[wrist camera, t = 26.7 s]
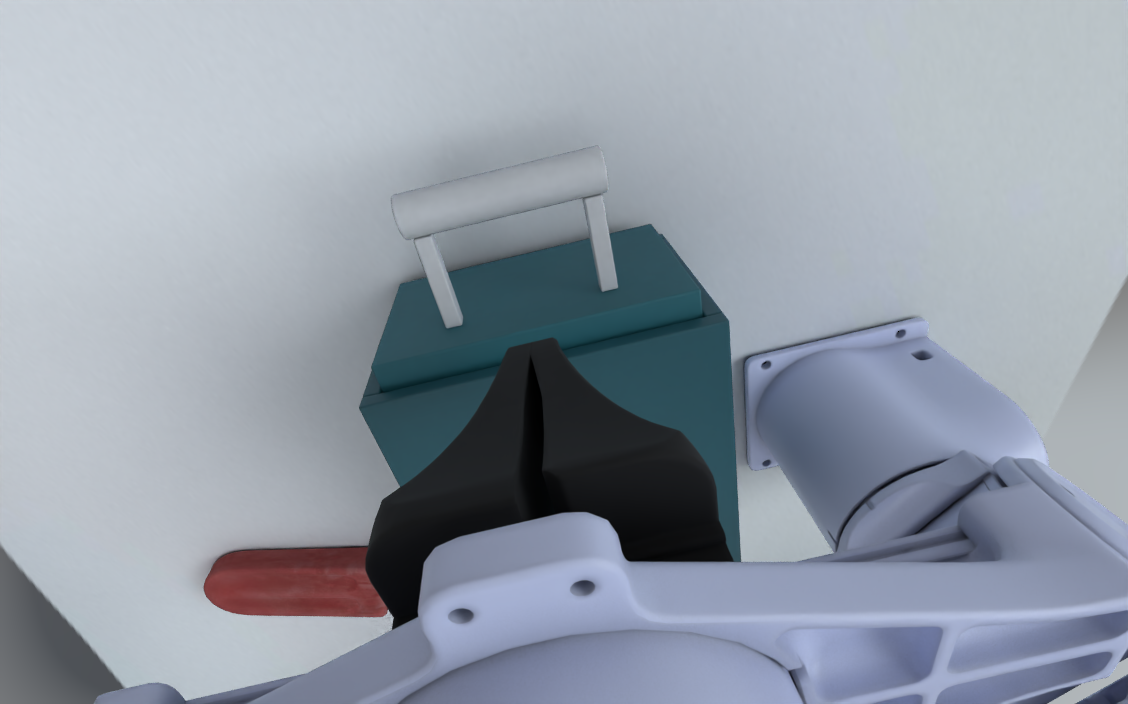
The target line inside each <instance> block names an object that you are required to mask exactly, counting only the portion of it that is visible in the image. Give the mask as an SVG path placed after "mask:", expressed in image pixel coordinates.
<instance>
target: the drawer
mask: <svg viewBox="0 0 1128 704" xmlns="http://www.w3.org/2000/svg"><path fill="white" fill-rule="evenodd" d="M608 189H609V182H608V174H607V169H606V164H605V160H604V156H603V153H602V150H601V148H600V146H593V147H589V148H585V149H581V150H577V151H572V152H568V153H564V154H560V155H556V156H552V157H548V158H543V159H539V160H535V161H531V162H527V163H523V164H519V165H514V166H510V167H506V168H502V169H498V170H494V171H490V172H486V173H481V174H477V175H473V176H469V177H465V178H461V179H457V180H452V181H448V182H444V183H440V184H436V185H432V186H428V187H424V188H419V189H415V190H411V191H407V192H403V193H399V194H395V195H393V196H392V199H391V204H392V211H393V215H394V218H395V222H396V224H397V227H398V229H399V231H400V233H401V235H402V236H403V237H404V238H405V239H406V240H409V239H414V244H415V247H416V250H417V252H418V255H419V258H420V260H421V263H422V266H423V268H424V271H425V274H426V276H427V278H422V279H418V280H414V281H410V282H406V283H402V284H400V286H399V289H398V291H397V294H396V297H395V300H394V303H393V306H392V309H391V312H390V315H389V317H388V320H387V323H386V326H385V329H384V332H383V335H382V338H381V340H380V343H379V346H378V349H377V352H376V355H375V358H374V361H373V363H372V366H371V369H372V371H373V373H374V375H375V377H376V379H377V381H378V383H379V385H380V387H381V389H382V391H383V393H385V392H389V391H393V390H398V389H402V388H406V387H410V386H415V385H419V384H423V383H427V382H432V381H436V380H440V379H444V378H448V377H453V376H457V375H461V374H465V373H470V372H474V371H478V370H482V369H487V368H491V367H495V366H499V365H501V363H502V360H503V358H504V356H505V353H506V351H507V350H508V348H509V347H513V346H518V345H522V344H526V343H530V342H535V341H539V340H543V339H547V338H551V337H553V338H555V339H556V340H557V341H558V344H559V346H560V348H561V350H562V351H563V350H567V349H571V348H576V347H580V346H584V345H588V344H593V343H597V342H601V341H605V340H610V339H614V338H618V337H622V336H627V335H631V334H635V333H639V332H643V331H648V330H652V329H656V328H660V327H665V326H669V325H673V324H677V323H682V322H686V321H690V320H694V319H699V318H703V314H702V301H701V290H700V289H699V287H698V286H697V285H696V283H695V282H694V281H693V279H692V278H691V277H690V275H689V274H688V273H687V271H686V270H685V269H684V267H683V266H682V265H681V263H680V262H679V261H678V259H677V258H676V257H675V255H674V254H673V253H672V251H671V250H670V249H669V247H668V246H667V245H666V243H665V242H664V241H663V239H662V238H661V237H660V236H659V234H658V233H657V232H656V230H655V229H654V228H653V226H652V225H651V224H648V225H644V226H640V227H636V228H632V229H627V230H623V231H619V232H615V233H611V234H609V230H608V224H607V218H606V212H605V206H604V200H603V196H602V194H601V193H605V192H607V191H608ZM580 198H582V199H583V204H584V210H585V215H586V220H587V225H588V231H589V236H590V239H586V240H581V241H577V242H573V243H569V244H565V245H560V246H556V247H552V248H548V249H544V250H540V251H535V252H531V253H527V254H523V255H519V256H514V257H510V258H506V259H502V260H498V261H494V262H489V263H485V264H481V265H477V266H473V267H468V268H464V269H460V270H456V271H452V272H448V273H447V270H446V267H445V264H444V261H443V258H442V256H441V253H440V250H439V247H438V244H437V241H436V238H435V236H434V233H439V232H443V231H447V230H451V229H455V228H459V227H464V226H468V225H472V224H476V223H480V222H484V221H489V220H493V219H497V218H501V217H505V216H509V215H513V214H518V213H522V212H526V211H530V210H534V209H538V208H543V207H547V206H551V205H555V204H559V203H563V202H568V201H572V200H576V199H580Z"/></svg>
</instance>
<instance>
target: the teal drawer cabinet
mask: <svg viewBox="0 0 1128 704" xmlns="http://www.w3.org/2000/svg"><path fill="white" fill-rule="evenodd" d="M659 236H660V237H661V238H662V239H663V241H664V242H665V243H666V245H667V246H668V247H669V249H670V250H671V251H672V253H673V254H674V255H675V257H676V258H677V259H678V261H679V262H680V263H681V265H682V266H683V267H684V269H685V270H686V271H687V273H688V274H689V275H690V277H691V278H692V279H693V281H694V282H695V283H696V285H697V286H698V287H699V289H700V290H701V301H702V314H703V318H699V319H694V320H690V321H686V322H682V323H677V324H673V325H669V326H665V327H660V328H656V329H652V330H648V331H643V332H639V333H635V334H631V335H627V336H622V337H618V338H614V339H610V340H605V341H601V342H597V343H593V344H588V345H584V346H580V347H576V348H571V349H567V350H563V353H564V354H565V356H566V357H567V359H568V360H569V361H570V362H571V364H572V365H573V366H574V367H575V368H576V369H577V370H578V372H579V373H580V374H581V375H582V376H583V377H584V378H585V379H586V380H587V381H588V382H589V383H590V384H591V385H592V386H594V387H595V388H596V389H597V390H598V391H599V392H601V393H602V394H603V395H604V396H606V397H607V398H609V399H610V400H611V401H613V402H614V403H616V404H617V405H619V406H620V407H622V408H623V409H625V410H627V411H629V412H631V413H633V414H635V415H637V416H638V417H641V418H643V419H646V420H648V421H650V422H653V423H656V424H659V425H662V426H666V427H669V428H673V429H676V430H679V431H681V432H682V433H683V434H684V435H685V436H686V437H687V438H688V440H689V441H690V442H691V443H692V444H693V446H694V447H695V448H696V450H697V451H698V452H699V453H700V455H701V456H702V458H703V459H704V461H705V462H706V464H707V465H708V467H709V469H710V471H711V473H712V475H713V477H714V480H715V484H716V488H717V500H718V513H719V521H720V523H721V526H722V528H723V530H724V532H725V536H726V544H727V547H728V549H729V551H730V554H731V556H732V558H733V560H734V562H741V552H740V532H739V511H738V491H737V471H736V450H735V430H734V410H733V389H732V369H731V349H730V328H729V320H728V319H727V318H726V316H725V315H724V314H723V313H722V311H721V310H720V308H719V307H718V306H717V305H716V303H715V302H714V301H713V299H712V298H711V297H710V296H709V294H708V293H707V292H706V290H705V289H704V288H703V286H702V285H701V284H700V283H699V281H698V280H697V279H696V277H695V276H694V275H693V273H692V272H691V271H690V270H689V268H688V267H687V266H686V264H685V263H684V262H683V260H682V259H681V258H680V257H679V255H678V254H677V253H676V251H675V250H674V249H673V247H672V246H671V245H670V244H669V242H668V241H667V240H666V238H665V237H664V236H663V234H659ZM499 368H500V365H499V366H495V367H491V368H487V369H482V370H478V371H474V372H470V373H465V374H461V375H457V376H453V377H448V378H444V379H440V380H436V381H432V382H427V383H423V384H419V385H415V386H410V387H406V388H402V389H398V390H393V391H389V392H385V393H383V391H382V389H381V387H380V385H379V383H378V381H377V379H376V377H375V375H374V373H373V371H371V374H370V377H369V380H368V383H367V386H366V389H365V392H364V395H363V398H362V400H361V403H360V406H359V409H360V411H361V413H362V415H363V417H364V419H365V421H366V423H367V425H368V426H369V428H370V430H371V432H372V434H373V436H374V438H375V440H376V442H377V444H378V446H379V447H380V449H381V451H382V453H383V455H384V457H385V459H386V461H387V463H388V465H389V467H390V468H391V470H392V472H393V474H394V476H395V478H396V480H397V482H398V484H399V486H400V487H402V486H403V485H404V484H406V483H407V482H409V481H410V480H411V479H413V478H414V477H415V476H416V475H418V474H419V473H420V472H421V471H422V470H424V469H425V468H426V467H427V466H428V465H429V464H430V463H432V462H433V461H434V460H435V459H436V458H437V457H438V456H439V455H440V454H441V453H442V452H443V451H444V450H445V449H446V448H447V447H448V446H449V445H450V444H451V442H452V441H453V440H454V439H455V438H456V437H457V436H458V435H459V434H460V433H461V431H462V430H463V429H464V428H465V426H466V425H467V424H468V422H469V421H470V419H471V418H472V417H473V415H474V414H475V412H476V410H477V409H478V407H479V405H480V404H481V402H482V400H483V399H484V397H485V396H486V394H487V392H488V390H489V388H490V386H491V384H492V382H493V380H494V378H495V376H496V374H497V372H498V370H499Z"/></svg>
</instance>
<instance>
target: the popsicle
mask: <svg viewBox="0 0 1128 704" xmlns="http://www.w3.org/2000/svg"><path fill="white" fill-rule="evenodd" d="M367 549H368V547H357V548H320V549H280V550H247V551H238V552H233V553H229V554H227V555H225V556H223V557H221V558H220V559H219V560H217V561H216V562H215V563H214V565H213V567H212V569H211V571H210V573H209V574H208V576H207V578H206V580H205V583H204V592H205V595H206V597H207V598H208V599H209V600H210V601H211V602H212V603H213V604H214V605H216V606H217V607H219V608H221V609H223V610H225V611H228V612H231V613H236V614H243V615H265V616H339V617H383V616H385V615H386V614H387V611H388V608H387V607H386V605H385V604H384V602H383V601H382V599H381V598H380V596H379V594H378V593H377V591H376V590H375V588H374V587H373V585H372V584H371V582H370V580H369V578H368V576H367V573H366V571H365V558H366V554H367Z"/></svg>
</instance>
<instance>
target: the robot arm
mask: <svg viewBox="0 0 1128 704" xmlns="http://www.w3.org/2000/svg"><path fill="white" fill-rule="evenodd" d="M928 328H929V323H928V322H927V321H926V320H924V319H923V318H914V319H909V320H905V321H901V322H897V323H892V324H888V325H884V326H880V327H875V328H871V329H867V330H862V331H858V332H854V333H850V334H845V335H841V336H837V337H833V338H828V339H824V340H820V341H816V342H811V343H807V344H803V345H798V346H794V347H790V348H786V349H781V350H777V351H773V352H769V353H764V354H760V355H756V356H752V357H750V358H749V359H748V360H747V361H746V362H745V366H744V368H745V398H746V428H747V458H748V465H749V467H750V468H751V469H752V470H755V471H757V470H762V469H767V468H771V467H775V466H780V468H781V470H782V471H783V473H784V474H785V476H786V477H787V479H788V481H789V482H790V484H791V485H792V487H793V488H794V490H795V492H796V493H797V495H798V496H799V498H800V500H801V501H802V503H803V504H804V506H805V507H806V509H807V511H808V512H809V514H810V515H811V517H812V518H813V520H814V522H815V523H816V525H817V526H818V528H819V530H820V531H821V533H822V534H823V536H824V537H825V539H826V541H827V542H828V544H829V545H830V547H831V548H832V550H833V552H834V553H833V554H828V555H824V556H819V557H815V558H811V559H806V560H802V561H798V562H734V560H733V558H732V556H731V554H730V551H729V549H728V547H727V544H726V536H725V532H724V530H723V528H722V526H721V523H720V521H719V513H718V500H717V488H716V484H715V480H714V477H713V475H712V473H711V471H710V469H709V467H708V465H707V464H706V462H705V461H704V459H703V458H702V456H701V455H700V453H699V452H698V451H697V450H696V448H695V447H694V446H693V444H692V443H691V442H690V441H689V440H688V438H687V437H686V436H685V435H684V434H683V433H682V432H681V431H679V430H676V429H673V428H669V427H666V426H662V425H659V424H656V423H653V422H650V421H648V420H646V419H643V418H641V417H638V416H637V415H635V414H633V413H631V412H629V411H627V410H625V409H623V408H622V407H620V406H619V405H617V404H616V403H614V402H613V401H611V400H610V399H609V398H607V397H606V396H604V395H603V394H602V393H601V392H599V391H598V390H597V389H596V388H595V387H594V386H592V385H591V384H590V383H589V382H588V381H587V380H586V379H585V378H584V377H583V376H582V375H581V374H580V373H579V372H578V370H577V369H576V368H575V367H574V366H573V365H572V364H571V362H570V361H569V360H568V359H567V357H566V356H565V354H564V353H563V351H562V350H561V348H560V346H559V344H558V341H557V340H556V339H555V338H553V337H551V338H547V339H543V340H539V341H535V342H530V343H526V344H522V345H518V346H513V347H509V348H508V350H507V351H506V353H505V356H504V358H503V360H502V363H501V365H500V368H499V370H498V372H497V374H496V376H495V378H494V380H493V382H492V384H491V386H490V388H489V390H488V392H487V394H486V396H485V397H484V399H483V400H482V402H481V404H480V405H479V407H478V409H477V410H476V412H475V414H474V415H473V417H472V418H471V419H470V421H469V422H468V424H467V425H466V426H465V428H464V429H463V430H462V431H461V433H460V434H459V435H458V436H457V437H456V438H455V439H454V440H453V441H452V442H451V444H450V445H449V446H448V447H447V448H446V449H445V450H444V451H443V452H442V453H441V454H440V455H439V456H438V457H437V458H436V459H435V460H434V461H433V462H432V463H430V464H429V465H428V466H427V467H426V468H425V469H424V470H422V471H421V472H420V473H419V474H418V475H416V476H415V477H414V478H413V479H411V480H410V481H409V482H407V483H406V484H404V485H403V486H402V487H400V488H399V489H397V490H396V491H395V492H393V493H392V494H390V495H389V496H387V497H386V498H384V499H383V500H382V502H381V505H380V508H379V510H378V513H377V516H376V518H375V522H374V525H373V528H372V532H371V537H370V541H369V545H368V549H367V554H366V558H365V571H366V573H367V576H368V578H369V580H370V582H371V584H372V585H373V587H374V588H375V590H376V591H377V593H378V594H379V596H380V598H381V599H382V601H383V602H384V604H385V605H386V607H387V608H388V610H389V611H390V613H391V614H392V616H393V617H394V620H393V626H392V630H391V631H389V632H387V633H385V634H383V635H382V636H380V637H378V638H376V639H374V640H372V641H370V642H368V643H366V644H364V645H362V646H360V647H358V648H356V649H354V650H352V651H350V652H348V653H346V654H344V655H342V656H340V657H338V658H336V659H334V660H332V661H330V662H328V663H326V664H324V665H322V666H320V667H318V668H316V669H314V670H313V671H311V672H309V673H306V674H302V675H297V676H293V677H289V678H284V679H280V680H275V681H271V682H267V683H262V684H258V685H253V686H249V687H245V688H240V689H236V690H231V691H227V692H223V693H218V694H214V695H210V696H205V697H201V698H196V699H192V700H188V701H185V700H184V698H183V697H182V696H181V694H180V693H179V692H178V691H177V690H176V689H174V688H173V687H171V686H169V685H167V684H162V683H148V684H143V685H139V686H135V687H130V688H126V689H122V690H117V691H113V692H109V693H104V694H102V695H100V696H98V697H97V699H96V701H95V702H94V704H1047V703H1049V702H1051V701H1052V700H1054V699H1056V698H1058V697H1059V696H1061V695H1063V694H1065V693H1067V692H1068V691H1070V690H1072V689H1073V688H1075V687H1077V686H1079V685H1081V684H1082V683H1086V682H1090V681H1094V680H1098V679H1103V678H1107V677H1109V676H1110V675H1111V673H1112V672H1113V670H1114V669H1115V667H1116V666H1117V664H1118V663H1119V662H1121V661H1122V660H1124V659H1126V658H1128V525H1127V524H1126V523H1125V522H1124V521H1122V520H1121V519H1120V518H1118V517H1117V516H1116V515H1114V514H1113V513H1112V512H1111V511H1109V510H1108V509H1107V508H1105V507H1104V506H1103V505H1101V504H1100V503H1099V502H1097V501H1096V500H1095V499H1093V498H1092V497H1091V496H1089V495H1088V494H1086V493H1085V492H1084V491H1082V490H1081V489H1080V488H1078V487H1077V486H1075V485H1074V484H1073V483H1071V482H1070V481H1068V480H1067V479H1066V478H1064V477H1063V476H1061V475H1059V474H1058V473H1057V472H1055V471H1054V470H1052V469H1051V468H1049V460H1048V455H1047V451H1046V448H1045V446H1044V443H1043V441H1042V439H1041V437H1040V435H1039V433H1038V432H1037V430H1036V428H1035V427H1034V425H1033V423H1032V422H1031V421H1030V419H1029V418H1028V417H1027V415H1026V414H1025V413H1024V412H1023V410H1022V409H1021V408H1020V407H1019V406H1018V405H1017V404H1016V403H1015V402H1013V401H1012V400H1011V399H1010V398H1009V397H1007V396H1006V395H1005V394H1003V393H1002V392H1001V391H999V390H998V389H997V388H995V387H994V386H993V385H991V384H990V383H989V382H987V381H986V380H985V379H983V378H982V377H980V376H979V375H978V374H976V373H975V372H974V371H972V370H971V369H970V368H968V367H967V366H966V365H964V364H963V363H962V362H960V361H959V360H958V359H956V358H955V357H954V356H952V355H951V354H949V353H948V352H947V351H945V350H944V349H943V348H941V347H940V346H939V345H937V344H936V343H935V342H933V341H932V340H931V339H929V338H928V337H927V334H928ZM899 330H900V332H898V331H899ZM897 332H898V333H897ZM896 333H897V334H896ZM765 361H768V362H767V363H766V364H765V365H762V363H763V362H765ZM765 460H766V461H765ZM1076 704H1128V675H1126V676H1124V677H1122V678H1121V679H1119V680H1117V681H1115V682H1113V683H1112V684H1110V685H1108V686H1106V687H1104V688H1103V689H1101V690H1099V691H1097V692H1096V693H1094V694H1092V695H1090V696H1088V697H1086V698H1085V699H1083V700H1081V701H1079V702H1077V703H1076Z"/></svg>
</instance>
